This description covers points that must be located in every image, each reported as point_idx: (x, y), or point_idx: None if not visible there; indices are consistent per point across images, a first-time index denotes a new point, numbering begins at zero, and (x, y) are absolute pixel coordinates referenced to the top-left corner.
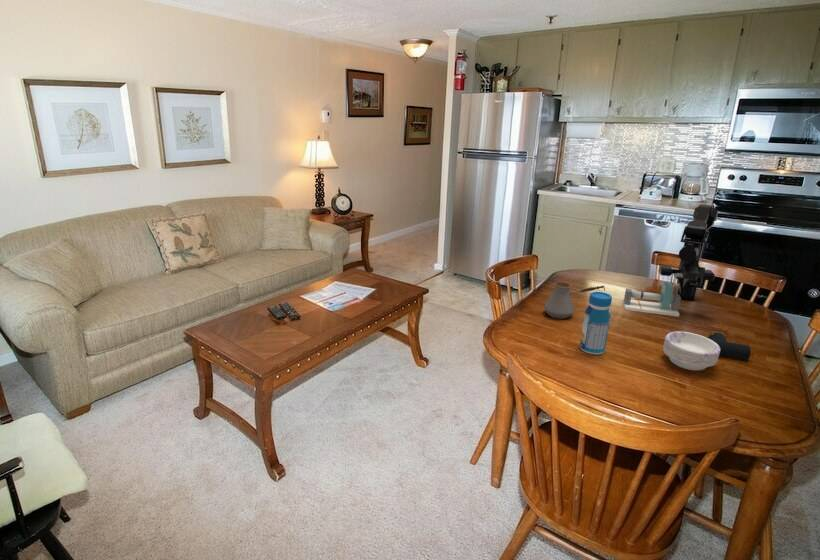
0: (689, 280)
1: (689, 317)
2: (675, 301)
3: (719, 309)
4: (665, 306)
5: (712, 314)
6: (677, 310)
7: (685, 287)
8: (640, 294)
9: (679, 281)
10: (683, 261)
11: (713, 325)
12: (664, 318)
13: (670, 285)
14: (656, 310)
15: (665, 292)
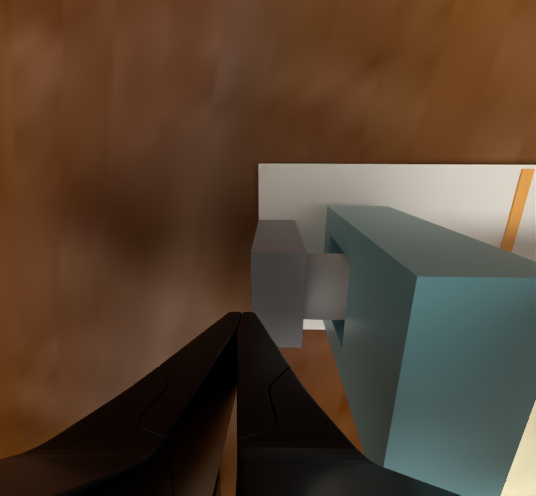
0: (7, 489)
1: (192, 178)
2: (294, 239)
3: (20, 372)
4: (360, 207)
5: (54, 284)
6: (263, 220)
7: (194, 352)
8: None
9: (348, 446)
10: None
11: (50, 75)
12: (370, 85)
13: (454, 354)
14: (414, 176)
15: (466, 238)
